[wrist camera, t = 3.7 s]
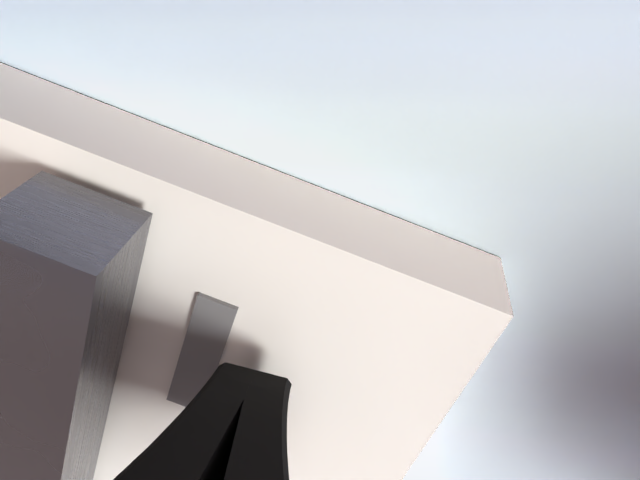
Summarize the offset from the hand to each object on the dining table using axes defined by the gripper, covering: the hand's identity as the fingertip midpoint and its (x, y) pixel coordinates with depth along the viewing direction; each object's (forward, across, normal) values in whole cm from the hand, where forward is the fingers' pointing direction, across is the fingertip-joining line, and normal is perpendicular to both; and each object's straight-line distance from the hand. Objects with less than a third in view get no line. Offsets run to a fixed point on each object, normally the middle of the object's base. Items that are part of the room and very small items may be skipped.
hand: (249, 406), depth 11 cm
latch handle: (0, +4, +4) cm, 6 cm away
